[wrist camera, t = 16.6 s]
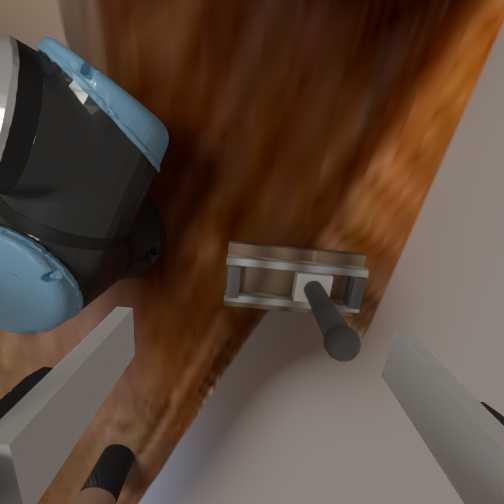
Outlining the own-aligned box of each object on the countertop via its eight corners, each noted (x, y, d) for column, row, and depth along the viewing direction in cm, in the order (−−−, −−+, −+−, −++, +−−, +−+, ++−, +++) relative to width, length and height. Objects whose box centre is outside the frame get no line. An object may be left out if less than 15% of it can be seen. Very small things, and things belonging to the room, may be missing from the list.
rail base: (224, 301, 48) (222, 313, 44) (229, 240, 45) (227, 247, 41) (349, 312, 49) (358, 326, 45) (363, 253, 46) (374, 261, 41)
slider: (291, 294, 46) (316, 370, 28) (295, 268, 45) (324, 331, 27) (324, 297, 46) (369, 375, 28) (329, 272, 45) (380, 336, 27)
